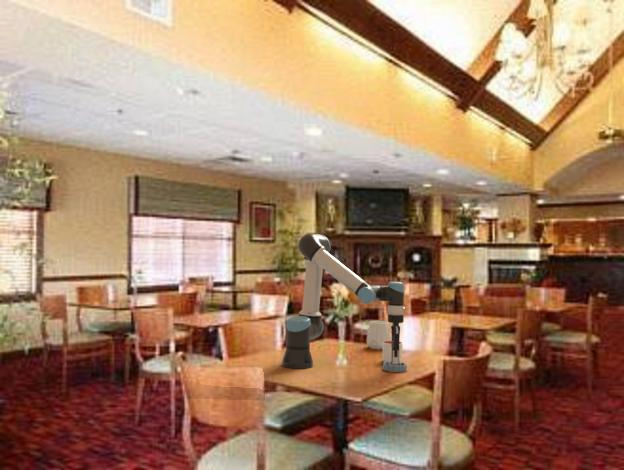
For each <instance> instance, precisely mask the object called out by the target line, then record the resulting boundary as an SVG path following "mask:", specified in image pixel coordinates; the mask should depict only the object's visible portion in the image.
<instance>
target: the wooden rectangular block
mask: <svg viewBox="0 0 624 470" xmlns="http://www.w3.org/2000/svg"><path fill="white" fill-rule="evenodd" d="M391 341H392V349H393V340H392V339H391ZM391 363H392V364H393V350H392V360H391ZM398 364H399V357H398Z"/></svg>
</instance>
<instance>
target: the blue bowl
mask: <svg viewBox="0 0 624 470" xmlns="http://www.w3.org/2000/svg"><path fill="white" fill-rule="evenodd" d="M407 367H408V365H407V363H405V362H402V361H401V362H399V364H392V363H391V362H390V361H389V362H384V361H383V363H382V370H383V371H385V372H390V373H405V372H407V370H408V369H407Z"/></svg>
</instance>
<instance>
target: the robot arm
mask: <svg viewBox="0 0 624 470" xmlns="http://www.w3.org/2000/svg"><path fill="white" fill-rule="evenodd" d="M297 244H298V245H297V246H298V247H297V248H298V251H299V253H300V254H301V255H302V256H303V261H304V262H305V264H306V266H305V276H304V287H303V300H302V309H301V310H300V311H299V312H298V315H296V316H291V317H288V318H287V320H286V325H285V329H286V330H285V337H286V338H285V352H284V355H283V357H282V359H281V360H282V361H281V365H282V367H284V368H288V369H309V368H312V367H314V360H313V357H312V354H311V350H310V349H311V341H312V340H313V341H314V340H315V339H317V338H318V337H320V336H321V335H322V334H323V332H324V322H323V321H322V315H323V314H322V313H321V312H320V304H321V303H320V302H321V291H322V282H323V281H322V279H323V271H325V272H327V273H328V274H329V275H331V276H332V277H333V278H334V279H335V280H336V281H338V282H339V283H340V284H342V285H343V286H344V287H345V288H346V289H348V290H349V291H351V292H352V293H353V294H355V296H356V297H357V298H358V301H360V302H361V303H362V304H371V303H375V302H376V301H377V302H388V303H387V314H388V315H387V322H388V323H392V324H391V326H390V328H391V330H390V335H391V341H392V340H393V349H392V350H393V364H398V357H399V342H400V335H401V334H400V333H401V326H400V325H399V324H403V323H404V317H405V316H404V311H405V309H406V308H405V304H404V303H405V286H404V285H405V284H404V283H403V282H402V281H401V282H400V281H389V282H388V285H379V284H378V285H377V284H368V283H367V282H365V280H363V279H362V278H361V277H360V276H359V275H357V274H356V273H355V272H353V271H352V270H351V269H349V268H348V267H347V266H345V265H344V264H343V263H342V262H340V261H339V260H338V259H337V258H335V257H334V256H333V255H332V254H330V252H331V248H332V247H331V243H330V240H329V238H328V237H326V236H325V235H323V234H319V233H306V234H304V235H302V237H300V238H299V240H298V243H297ZM391 346H392V345H391Z"/></svg>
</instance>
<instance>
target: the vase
mask: <svg viewBox="0 0 624 470" xmlns="http://www.w3.org/2000/svg"><path fill="white" fill-rule="evenodd" d="M389 323H390V322H388V321H384V320H371V321H370V322H369V324H368V330H367V336H366V345H367V347H369V348H370V349H372V350H383V342H384V341H392V335H391V330H390V324H389Z"/></svg>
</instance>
